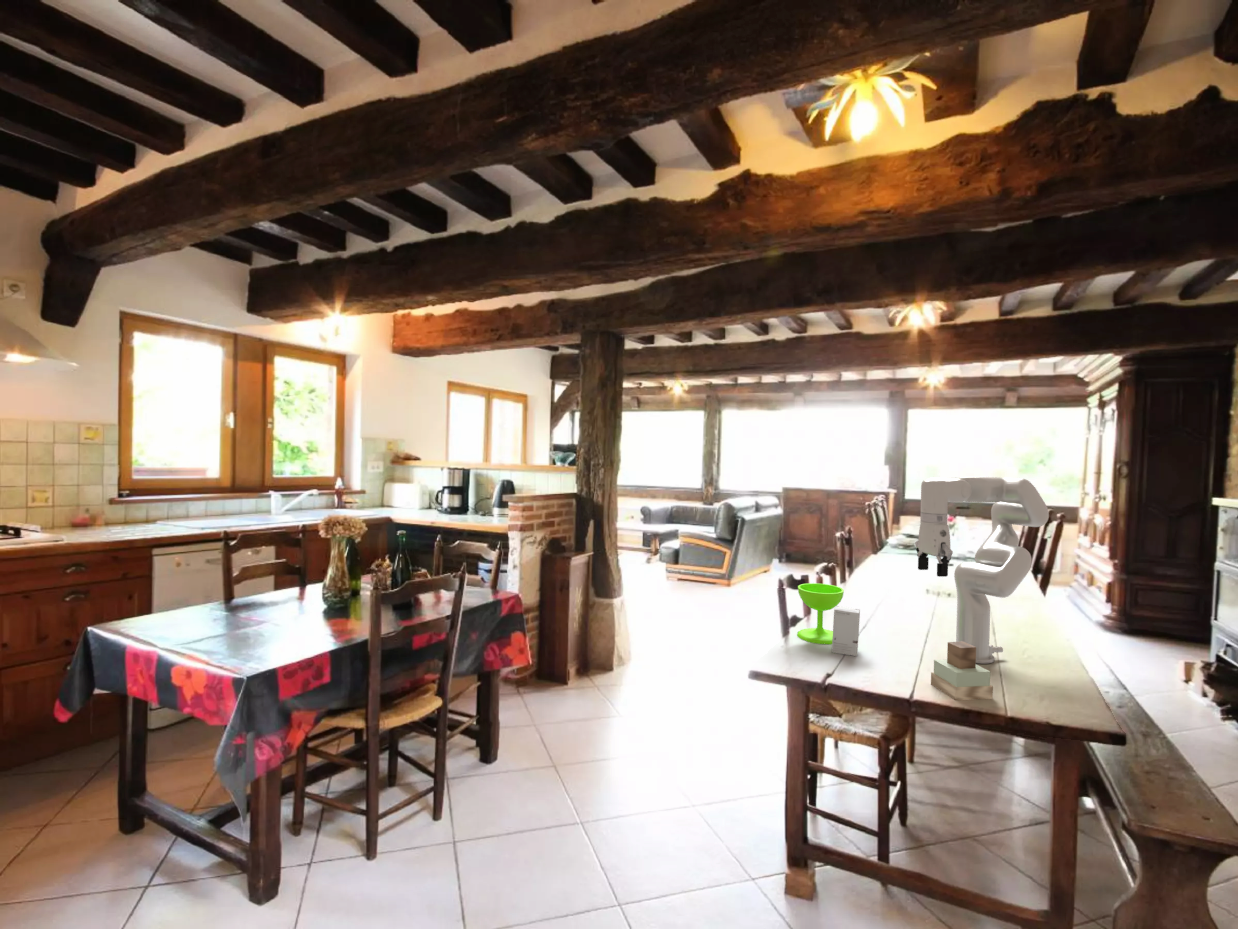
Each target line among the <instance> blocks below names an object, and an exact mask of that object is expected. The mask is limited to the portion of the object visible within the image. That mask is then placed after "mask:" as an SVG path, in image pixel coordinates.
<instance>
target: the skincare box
mask: <svg viewBox="0 0 1238 929" xmlns="http://www.w3.org/2000/svg"><path fill="white" fill-rule="evenodd" d="M833 609H834V611H833V623H832V624H833V625H832V631H833V639H832V644H831V653H833V654H839V655H847V656H854V657H858V656H857V655H858V653H859V652H858V648H859V635H860V634H859V633H860V618H861V616H860V615H861V609H860V608H859V609H858V608H852V607H847V606H838V605H837V606H835V607H834V608H833Z"/></svg>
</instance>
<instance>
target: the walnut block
mask: <svg viewBox="0 0 1238 929" xmlns="http://www.w3.org/2000/svg"><path fill="white" fill-rule="evenodd" d="M946 652H947V657H946V659H947V663H949V664H951V665H953V666H955V667H957V668H959V669H970V668H976V664H977V663H976V647H975V646H972V645H970V644H968V643H966V642H963V641H960V642H956V641H948V642H947V651H946Z"/></svg>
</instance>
